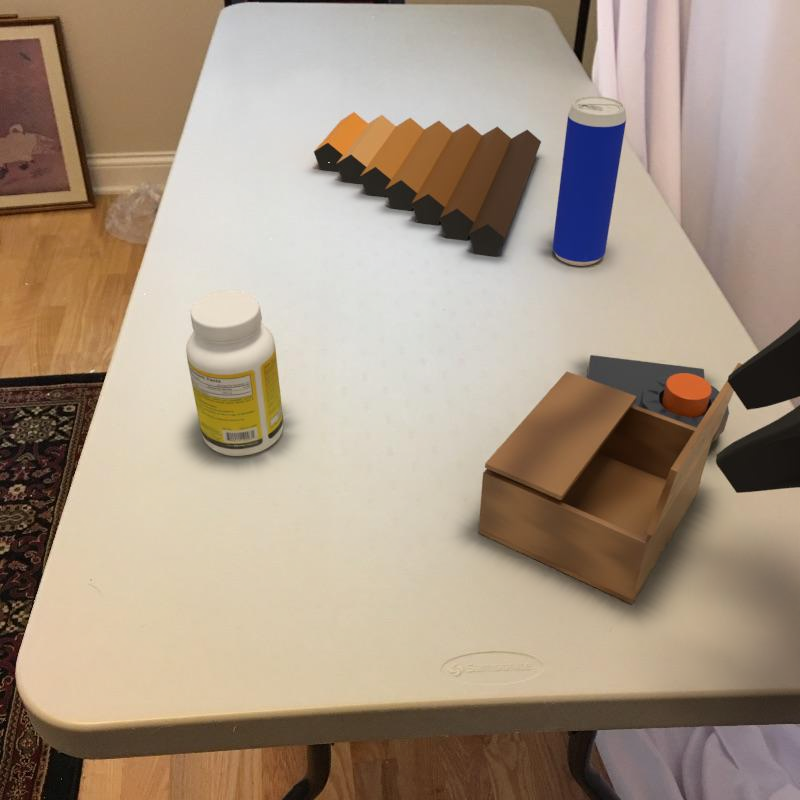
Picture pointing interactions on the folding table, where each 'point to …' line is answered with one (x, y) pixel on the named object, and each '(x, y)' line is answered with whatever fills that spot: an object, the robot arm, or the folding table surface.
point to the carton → (588, 485)
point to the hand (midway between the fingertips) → (732, 430)
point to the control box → (647, 384)
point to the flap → (691, 455)
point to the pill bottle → (234, 374)
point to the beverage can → (588, 179)
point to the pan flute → (436, 173)
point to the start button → (686, 395)
